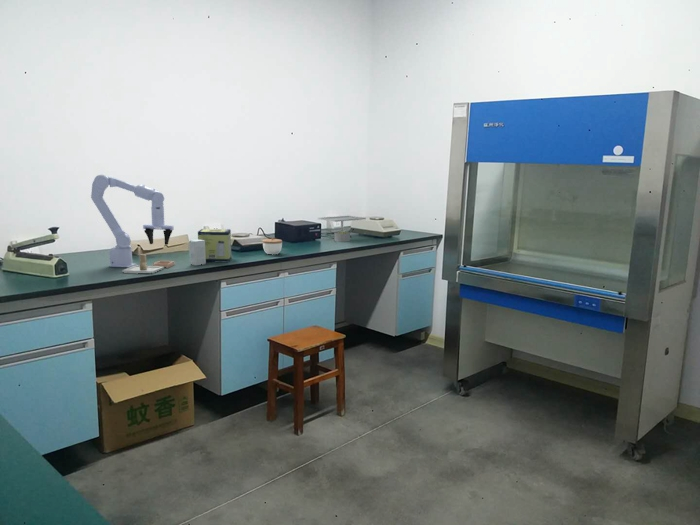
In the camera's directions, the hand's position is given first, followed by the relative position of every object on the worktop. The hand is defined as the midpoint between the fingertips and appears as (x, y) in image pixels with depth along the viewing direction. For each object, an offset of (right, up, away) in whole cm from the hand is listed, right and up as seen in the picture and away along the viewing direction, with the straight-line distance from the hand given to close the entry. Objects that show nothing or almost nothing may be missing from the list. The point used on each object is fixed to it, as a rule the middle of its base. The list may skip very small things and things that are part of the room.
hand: (159, 244), depth 273 cm
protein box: (+23, -8, +16) cm, 30 cm away
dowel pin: (-2, -12, -15) cm, 19 cm away
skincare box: (+18, -10, +4) cm, 21 cm away
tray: (-2, -13, -15) cm, 20 cm away
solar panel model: (+88, +5, +96) cm, 130 cm away
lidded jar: (+50, -4, +38) cm, 63 cm away
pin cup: (+3, -11, -2) cm, 11 cm away
